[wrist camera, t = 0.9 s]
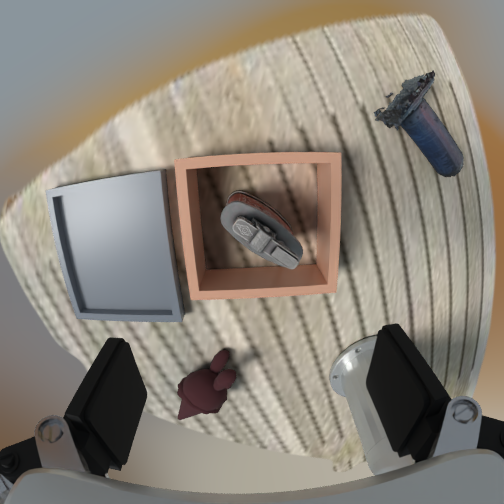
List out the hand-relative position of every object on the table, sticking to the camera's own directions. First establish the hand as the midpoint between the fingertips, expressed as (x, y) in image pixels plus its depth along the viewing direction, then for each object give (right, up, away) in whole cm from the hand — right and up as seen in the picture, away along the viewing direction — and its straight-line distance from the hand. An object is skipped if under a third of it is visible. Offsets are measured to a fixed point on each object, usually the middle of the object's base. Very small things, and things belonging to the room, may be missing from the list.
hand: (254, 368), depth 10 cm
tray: (-17, +4, +23) cm, 29 cm away
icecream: (-7, -15, +30) cm, 34 cm away
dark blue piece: (+20, +19, +19) cm, 33 cm away
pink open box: (+1, +8, +22) cm, 23 cm away
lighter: (+1, +8, +22) cm, 24 cm away
